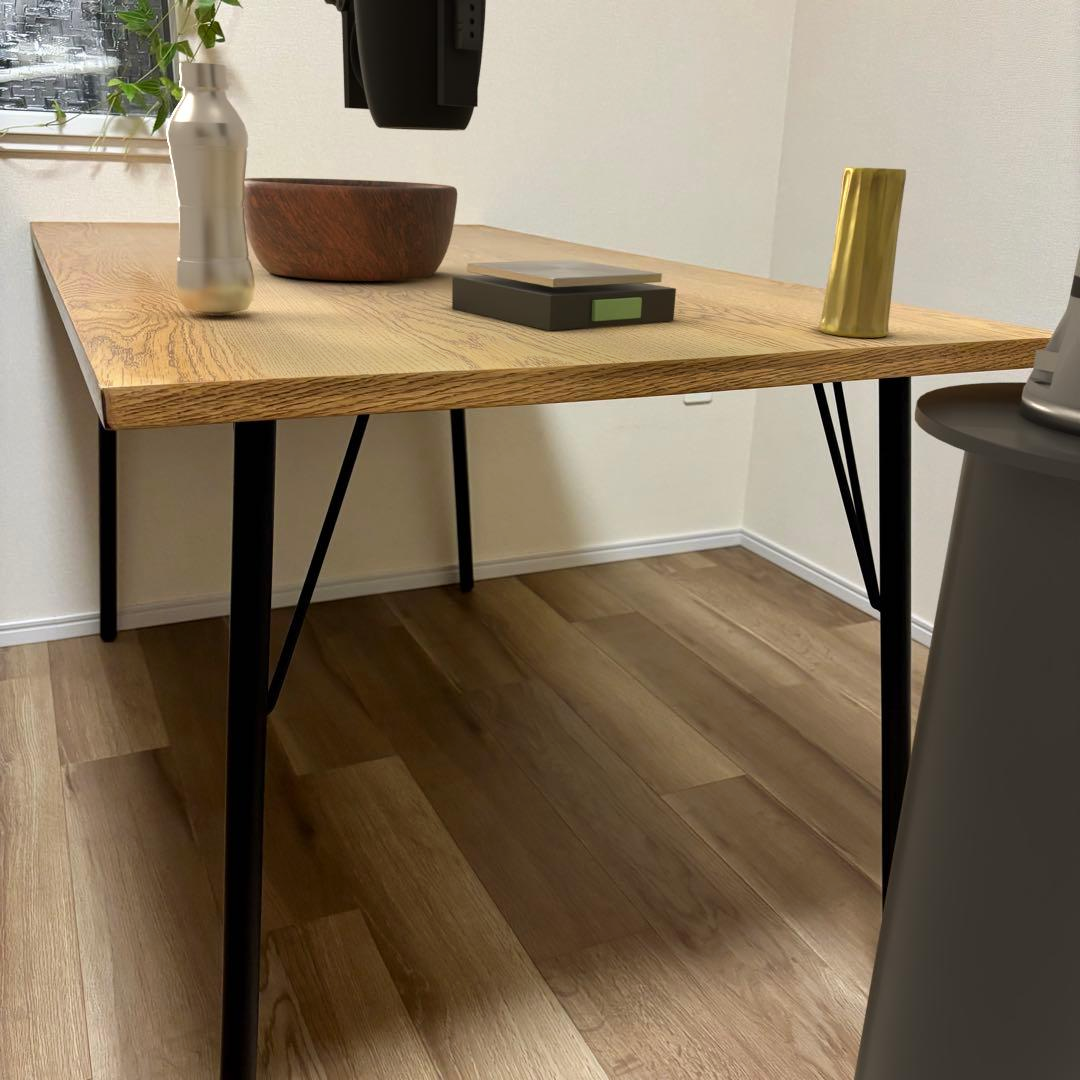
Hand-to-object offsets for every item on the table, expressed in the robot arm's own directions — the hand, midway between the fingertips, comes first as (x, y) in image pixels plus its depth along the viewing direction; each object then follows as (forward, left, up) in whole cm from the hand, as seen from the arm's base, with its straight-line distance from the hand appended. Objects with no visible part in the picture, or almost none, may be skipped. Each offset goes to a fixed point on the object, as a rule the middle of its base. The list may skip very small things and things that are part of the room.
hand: (407, 107), depth 77 cm
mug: (0, 0, -2) cm, 2 cm away
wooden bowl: (+46, -21, -17) cm, 54 cm away
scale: (+9, -23, -17) cm, 30 cm away
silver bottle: (+21, +6, -17) cm, 28 cm away
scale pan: (+9, -23, -14) cm, 28 cm away
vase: (-11, -41, -17) cm, 46 cm away
